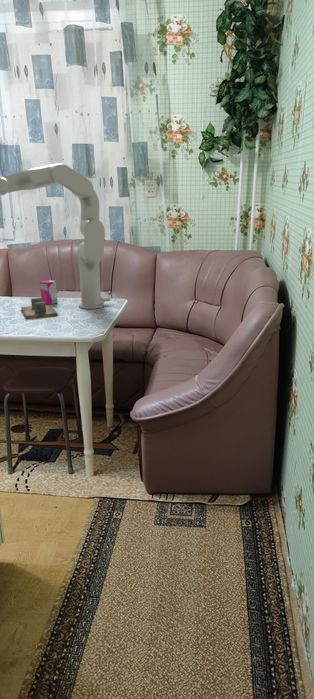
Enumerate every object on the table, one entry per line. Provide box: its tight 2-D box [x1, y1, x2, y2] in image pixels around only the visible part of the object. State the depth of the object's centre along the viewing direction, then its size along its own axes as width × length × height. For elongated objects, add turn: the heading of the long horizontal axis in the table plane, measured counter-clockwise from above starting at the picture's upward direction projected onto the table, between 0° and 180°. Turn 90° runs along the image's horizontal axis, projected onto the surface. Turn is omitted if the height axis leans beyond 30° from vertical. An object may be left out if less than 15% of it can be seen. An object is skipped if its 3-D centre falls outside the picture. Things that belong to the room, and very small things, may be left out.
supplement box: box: [39, 279, 59, 306], centre depth 256 cm, size 6×6×12 cm
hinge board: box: [21, 297, 59, 320], centre depth 239 cm, size 14×18×6 cm
